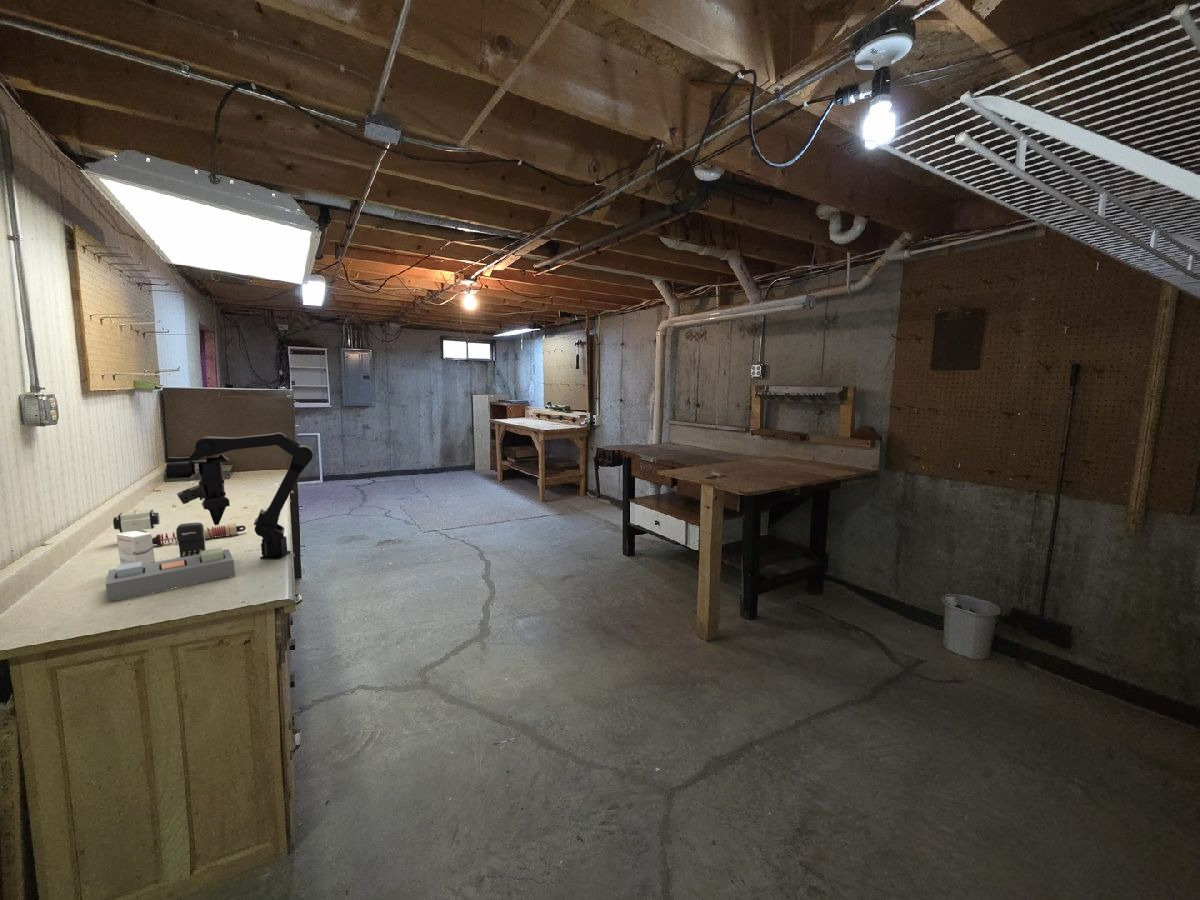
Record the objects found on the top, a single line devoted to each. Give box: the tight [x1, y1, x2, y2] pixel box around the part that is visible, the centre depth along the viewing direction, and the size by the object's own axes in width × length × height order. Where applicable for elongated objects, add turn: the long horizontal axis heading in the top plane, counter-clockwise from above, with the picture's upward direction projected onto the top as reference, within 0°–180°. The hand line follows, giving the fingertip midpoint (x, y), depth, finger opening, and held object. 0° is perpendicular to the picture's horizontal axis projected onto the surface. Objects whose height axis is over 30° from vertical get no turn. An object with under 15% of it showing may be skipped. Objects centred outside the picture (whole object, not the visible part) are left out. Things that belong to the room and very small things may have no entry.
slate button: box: [116, 561, 143, 578], centre depth 135 cm, size 5×5×4 cm
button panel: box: [105, 548, 236, 603], centre depth 141 cm, size 27×13×5 cm, turn 133°
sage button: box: [201, 547, 224, 562], centre depth 147 cm, size 5×5×4 cm
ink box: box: [116, 531, 156, 565], centre depth 149 cm, size 9×5×12 cm, turn 71°
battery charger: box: [175, 521, 207, 558], centre depth 161 cm, size 7×4×11 cm, turn 120°
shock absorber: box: [152, 522, 246, 547], centre depth 178 cm, size 5×5×30 cm
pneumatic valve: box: [112, 509, 161, 534], centre depth 175 cm, size 6×12×12 cm, turn 127°
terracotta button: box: [161, 560, 185, 570], centre depth 141 cm, size 5×5×4 cm
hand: (216, 524), depth 153 cm, fingers closed
